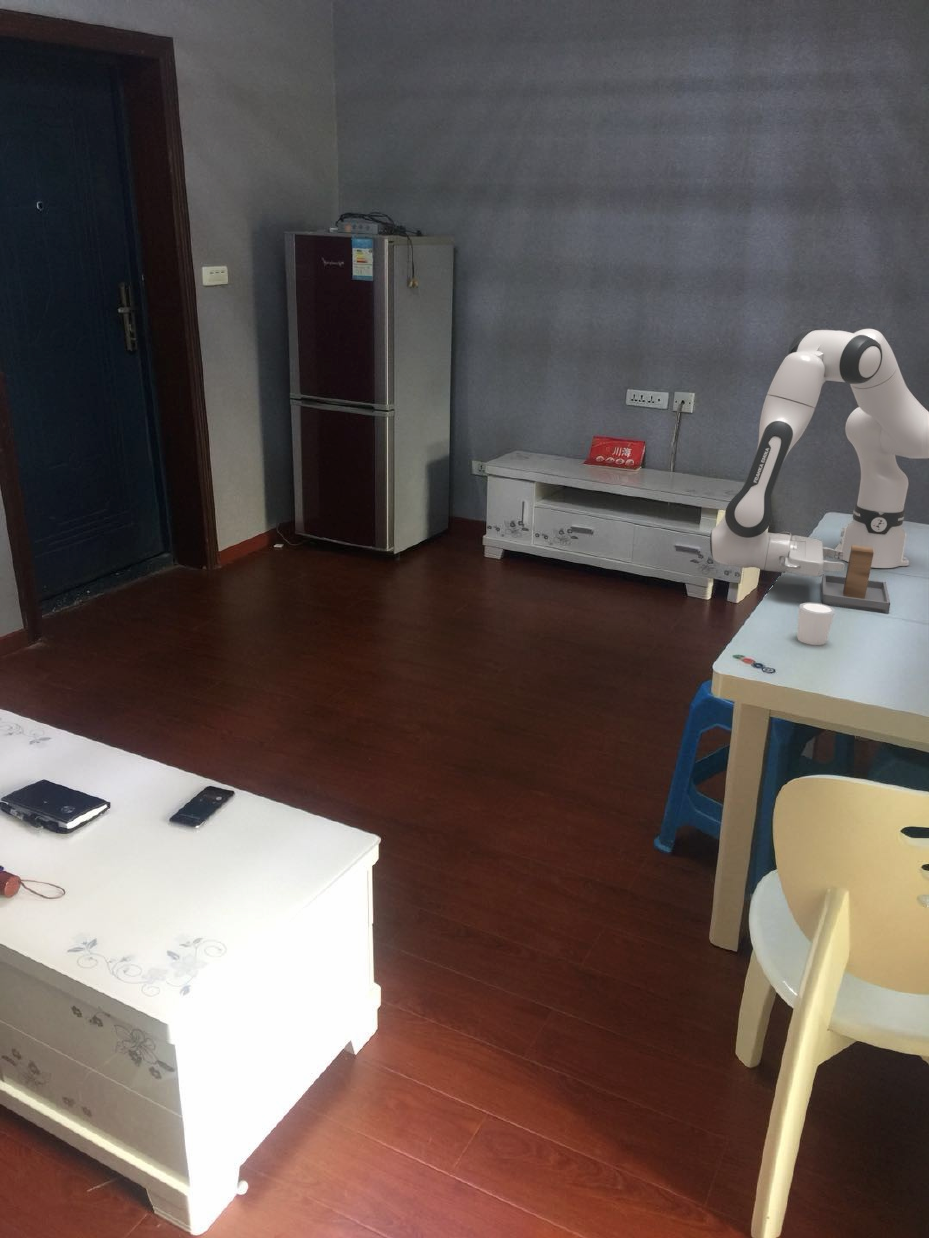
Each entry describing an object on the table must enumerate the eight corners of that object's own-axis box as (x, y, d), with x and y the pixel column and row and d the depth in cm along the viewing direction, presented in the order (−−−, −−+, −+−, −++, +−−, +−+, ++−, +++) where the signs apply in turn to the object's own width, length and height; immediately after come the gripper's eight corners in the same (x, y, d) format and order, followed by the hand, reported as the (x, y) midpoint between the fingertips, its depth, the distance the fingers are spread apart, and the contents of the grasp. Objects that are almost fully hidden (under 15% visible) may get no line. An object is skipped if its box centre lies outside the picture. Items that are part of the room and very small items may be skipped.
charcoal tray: (821, 583, 231) (822, 574, 230) (883, 591, 227) (885, 582, 226) (821, 604, 217) (823, 594, 216) (888, 613, 213) (890, 603, 212)
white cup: (829, 636, 198) (835, 604, 196) (829, 648, 192) (835, 615, 189) (794, 631, 200) (799, 600, 198) (793, 643, 194) (799, 610, 191)
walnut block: (843, 590, 224) (851, 545, 220) (863, 593, 223) (872, 547, 219) (843, 596, 220) (852, 550, 216) (864, 599, 219) (873, 552, 215)
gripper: (781, 551, 213) (847, 560, 209) (783, 529, 231) (844, 537, 227) (776, 578, 215) (842, 587, 211) (779, 555, 234) (839, 562, 230)
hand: (843, 561), depth 220 cm, fingers open, 8 cm apart
